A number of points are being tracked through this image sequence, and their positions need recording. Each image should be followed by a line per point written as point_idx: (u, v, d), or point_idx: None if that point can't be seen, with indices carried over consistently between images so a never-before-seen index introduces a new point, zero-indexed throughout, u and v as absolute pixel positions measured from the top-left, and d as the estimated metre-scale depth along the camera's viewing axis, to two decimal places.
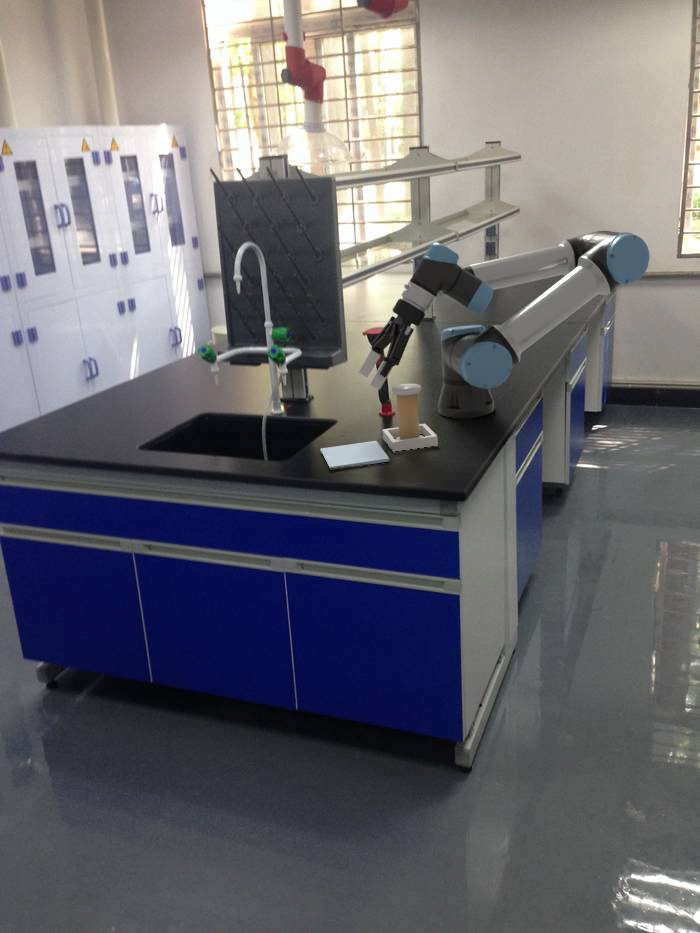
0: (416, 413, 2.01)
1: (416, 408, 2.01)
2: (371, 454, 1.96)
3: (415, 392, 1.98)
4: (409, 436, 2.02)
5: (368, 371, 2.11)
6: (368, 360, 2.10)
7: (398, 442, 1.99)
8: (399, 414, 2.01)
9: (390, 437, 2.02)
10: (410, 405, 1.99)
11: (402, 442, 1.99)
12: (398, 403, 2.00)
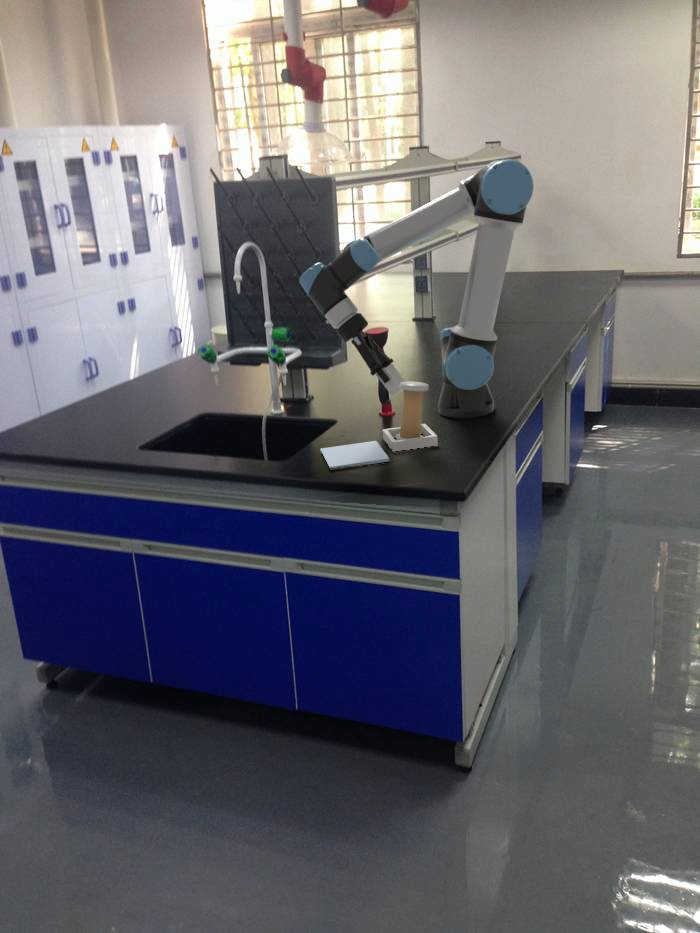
0: (420, 411, 2.01)
1: (421, 406, 2.01)
2: (371, 454, 1.96)
3: (423, 390, 1.98)
4: (411, 433, 2.02)
5: (401, 380, 2.11)
6: (391, 376, 2.12)
7: (398, 442, 1.99)
8: (403, 410, 2.01)
9: (390, 437, 2.02)
10: (416, 402, 2.00)
11: (402, 442, 1.99)
12: (404, 399, 2.01)
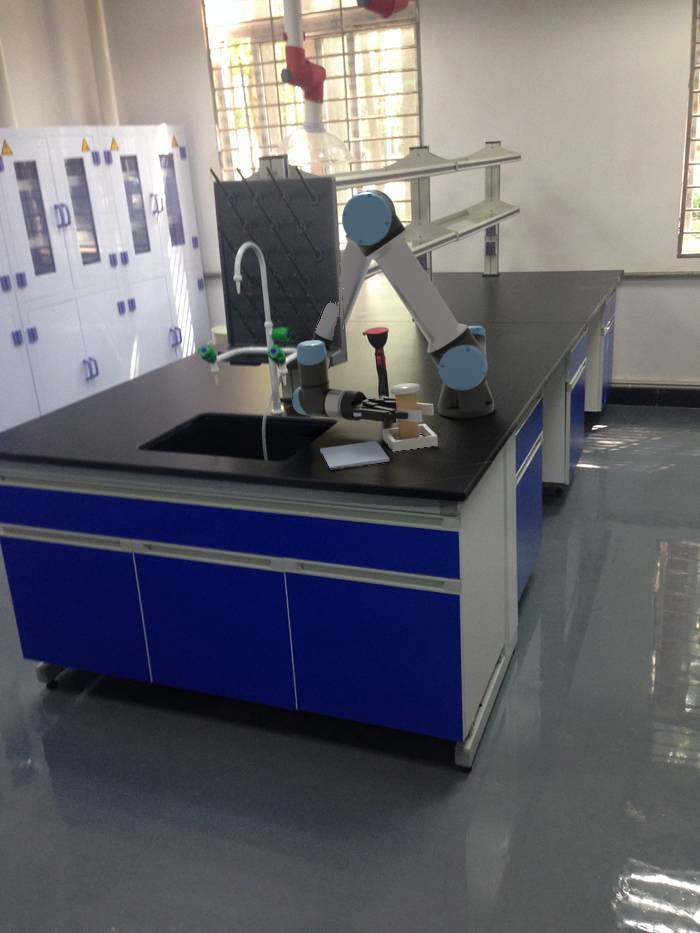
0: None
1: (415, 407, 2.01)
2: (371, 454, 1.96)
3: (413, 391, 1.98)
4: (408, 435, 2.02)
5: (426, 406, 2.02)
6: None
7: (398, 442, 1.99)
8: None
9: (390, 437, 2.02)
10: (408, 404, 1.99)
11: (402, 442, 1.99)
12: (397, 402, 2.01)
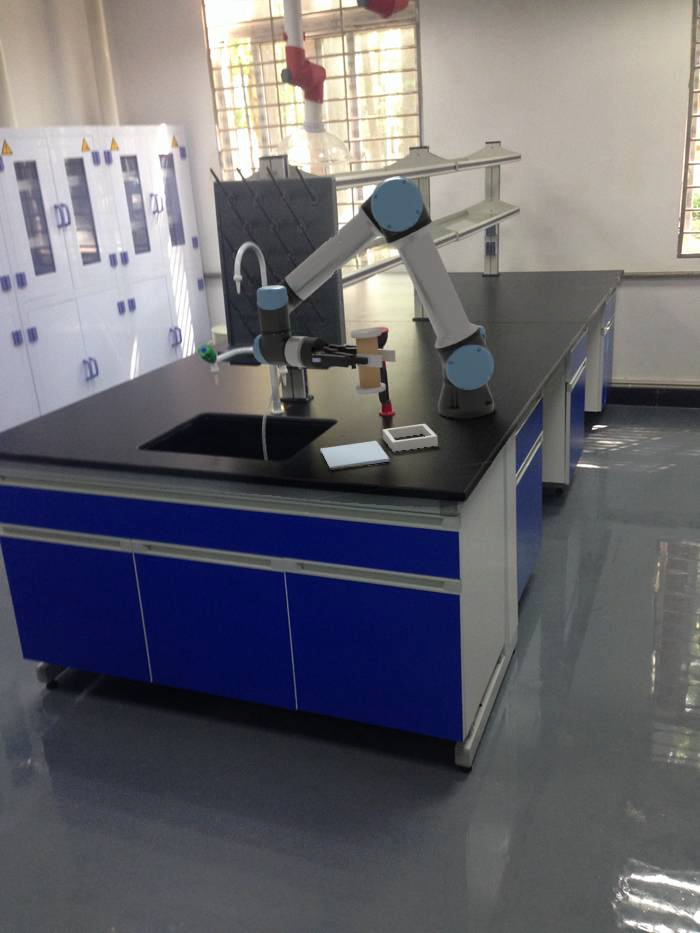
0: None
1: (376, 353, 1.92)
2: (371, 454, 1.96)
3: (373, 335, 1.90)
4: (368, 382, 1.94)
5: (387, 352, 1.94)
6: None
7: (398, 442, 1.99)
8: None
9: (390, 437, 2.02)
10: (369, 349, 1.91)
11: (402, 442, 1.99)
12: (357, 347, 1.93)
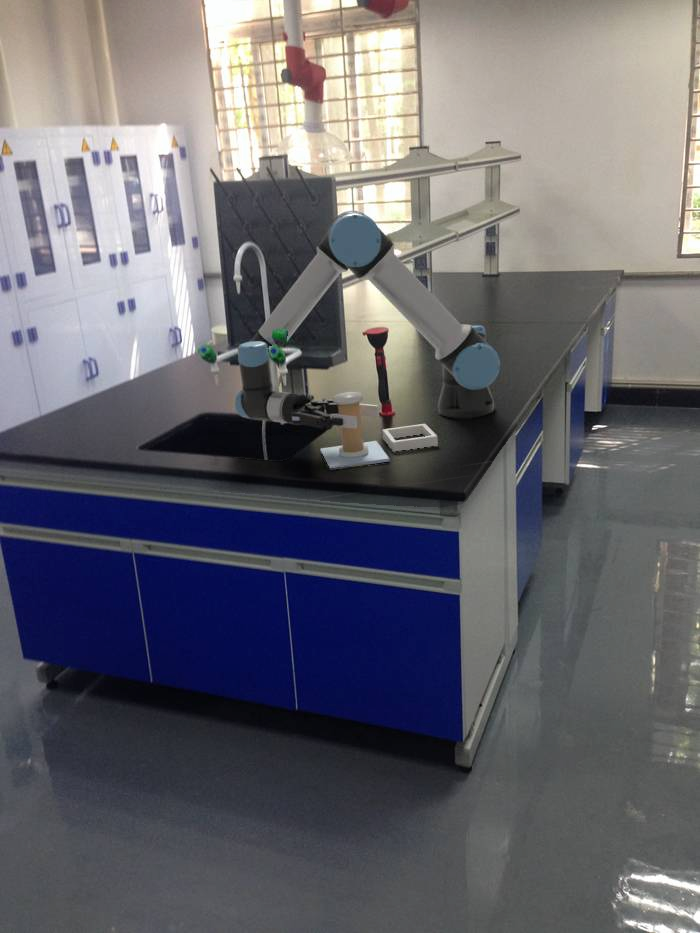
0: (358, 423, 1.94)
1: (358, 418, 1.93)
2: (371, 454, 1.96)
3: (355, 401, 1.90)
4: (351, 446, 1.95)
5: (371, 408, 1.96)
6: (363, 412, 1.98)
7: (398, 442, 1.99)
8: None
9: (390, 437, 2.02)
10: (351, 414, 1.92)
11: (402, 442, 1.99)
12: (339, 412, 1.94)
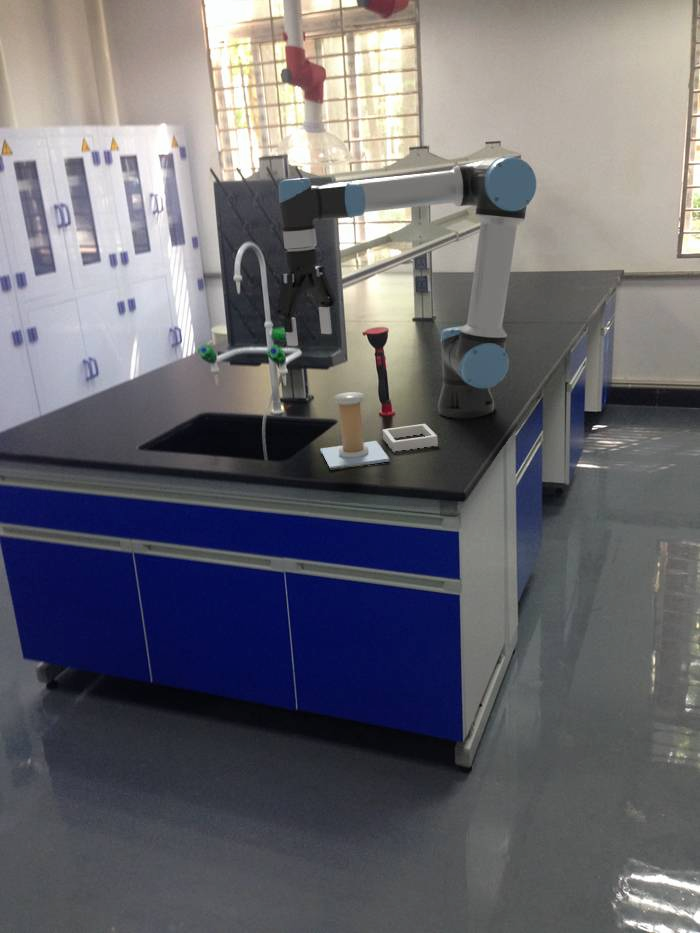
0: (358, 423, 1.94)
1: (358, 418, 1.93)
2: (371, 454, 1.96)
3: (356, 401, 1.91)
4: (351, 446, 1.95)
5: (327, 327, 2.04)
6: (322, 318, 2.04)
7: (398, 442, 1.99)
8: (341, 424, 1.94)
9: (390, 437, 2.02)
10: (351, 414, 1.92)
11: (402, 442, 1.99)
12: (340, 412, 1.94)
